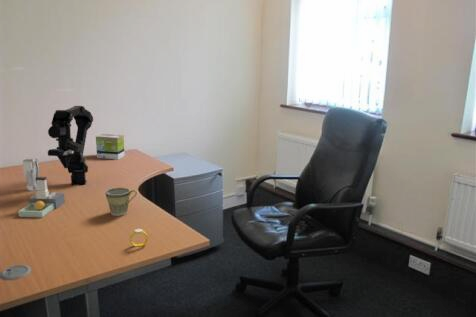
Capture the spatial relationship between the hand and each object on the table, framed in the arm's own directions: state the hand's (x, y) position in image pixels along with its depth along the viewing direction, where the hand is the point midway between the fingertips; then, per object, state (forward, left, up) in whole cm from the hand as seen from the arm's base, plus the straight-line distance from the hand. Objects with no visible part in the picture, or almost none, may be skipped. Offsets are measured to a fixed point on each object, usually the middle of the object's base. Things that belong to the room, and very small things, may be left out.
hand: (66, 168), depth 205 cm
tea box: (-14, -69, -12) cm, 72 cm away
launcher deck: (+6, +19, -12) cm, 24 cm away
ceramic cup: (-28, +34, -12) cm, 45 cm away
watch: (-36, +68, -12) cm, 78 cm away
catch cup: (+8, +27, -12) cm, 31 cm away
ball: (+7, +25, -10) cm, 28 cm away
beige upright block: (+6, +22, -7) cm, 24 cm away
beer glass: (+18, -7, -12) cm, 23 cm away
